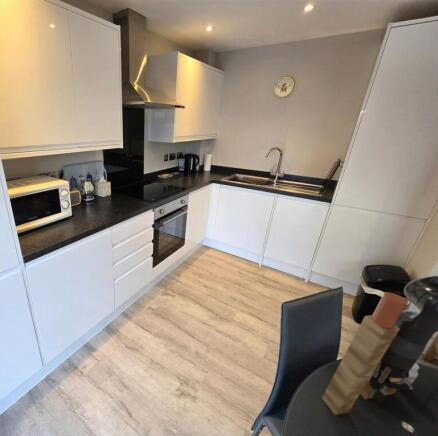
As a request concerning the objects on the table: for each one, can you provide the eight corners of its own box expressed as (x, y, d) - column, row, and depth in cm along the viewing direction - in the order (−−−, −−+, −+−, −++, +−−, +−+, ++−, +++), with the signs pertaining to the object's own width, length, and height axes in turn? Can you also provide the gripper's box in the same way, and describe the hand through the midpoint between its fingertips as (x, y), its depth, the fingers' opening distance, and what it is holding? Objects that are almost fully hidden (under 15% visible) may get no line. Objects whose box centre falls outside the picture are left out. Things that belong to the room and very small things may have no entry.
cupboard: (372, 373, 88) (381, 360, 86) (393, 393, 82) (403, 379, 79) (345, 378, 86) (353, 364, 83) (365, 399, 80) (374, 385, 77)
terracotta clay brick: (379, 315, 66) (393, 291, 63) (397, 327, 62) (412, 303, 59) (367, 316, 66) (379, 292, 63) (384, 329, 62) (398, 304, 59)
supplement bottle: (385, 371, 89) (397, 353, 86) (405, 380, 87) (418, 361, 83) (390, 384, 85) (402, 365, 81) (410, 393, 83) (425, 373, 79)
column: (334, 395, 80) (379, 314, 67) (348, 412, 76) (400, 328, 62) (321, 398, 79) (364, 315, 66) (335, 415, 75) (384, 330, 61)
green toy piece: (379, 393, 81) (385, 383, 79) (389, 402, 78) (396, 392, 76) (367, 395, 80) (374, 385, 78) (377, 405, 77) (383, 395, 75)
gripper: (441, 367, 62) (408, 409, 69) (386, 326, 74) (362, 365, 81) (418, 370, 61) (387, 413, 67) (366, 328, 72) (344, 368, 79)
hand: (374, 387), depth 74 cm, fingers closed
